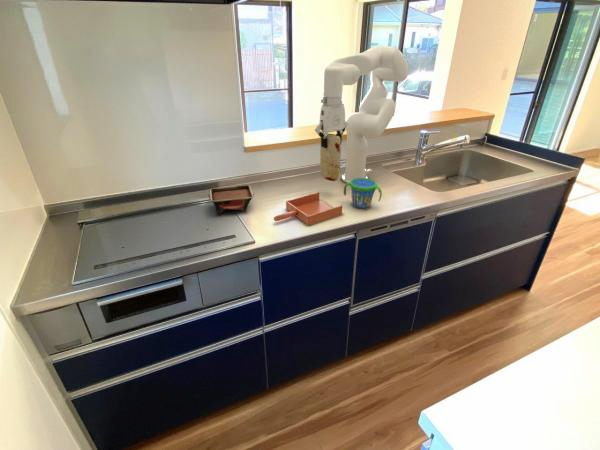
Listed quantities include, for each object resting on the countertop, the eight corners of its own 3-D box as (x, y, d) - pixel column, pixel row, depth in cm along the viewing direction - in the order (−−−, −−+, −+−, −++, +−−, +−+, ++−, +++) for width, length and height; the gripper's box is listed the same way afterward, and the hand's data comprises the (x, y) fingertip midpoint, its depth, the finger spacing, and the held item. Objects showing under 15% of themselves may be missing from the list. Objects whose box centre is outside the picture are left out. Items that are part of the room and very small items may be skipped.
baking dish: (252, 218, 139) (254, 195, 135) (207, 216, 135) (207, 192, 131) (250, 205, 152) (252, 183, 148) (209, 202, 148) (209, 180, 144)
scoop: (318, 199, 149) (318, 191, 147) (342, 214, 138) (342, 205, 136) (264, 216, 137) (263, 207, 135) (285, 233, 125) (284, 224, 123)
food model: (316, 178, 151) (316, 133, 141) (325, 174, 156) (326, 130, 145) (335, 184, 146) (336, 137, 136) (343, 179, 150) (345, 133, 140)
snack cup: (383, 204, 145) (386, 181, 140) (375, 214, 137) (377, 191, 132) (348, 196, 152) (350, 174, 147) (339, 205, 144) (340, 183, 139)
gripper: (320, 105, 127) (319, 152, 136) (356, 99, 135) (353, 144, 144) (308, 102, 133) (308, 147, 142) (343, 96, 141) (341, 139, 150)
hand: (331, 145), depth 143 cm, fingers closed on food model, 6 cm apart
